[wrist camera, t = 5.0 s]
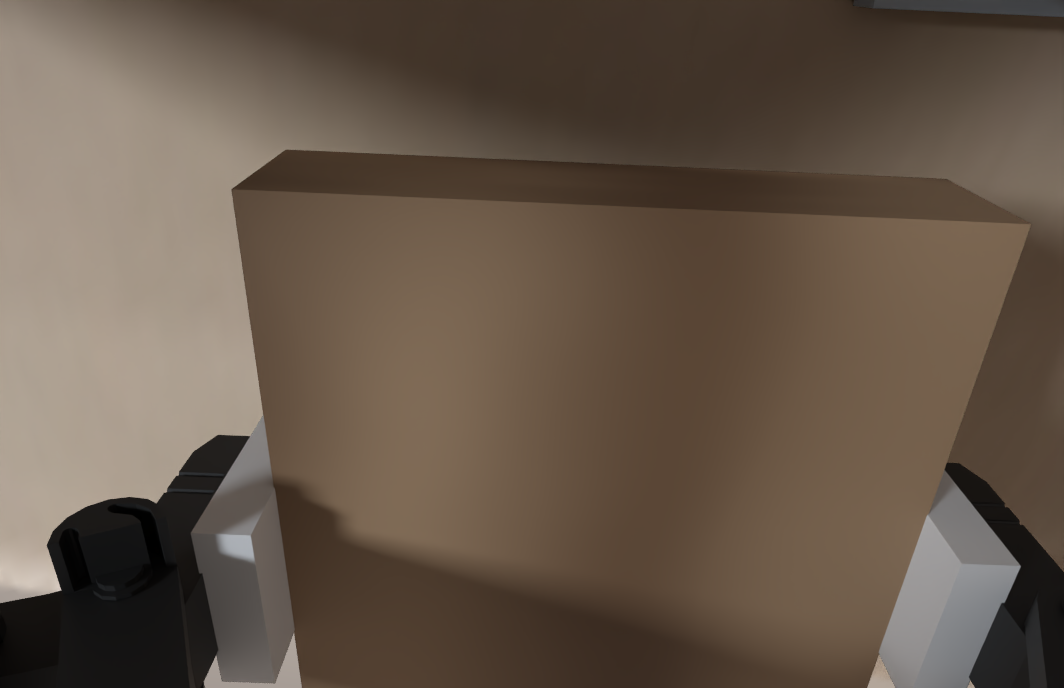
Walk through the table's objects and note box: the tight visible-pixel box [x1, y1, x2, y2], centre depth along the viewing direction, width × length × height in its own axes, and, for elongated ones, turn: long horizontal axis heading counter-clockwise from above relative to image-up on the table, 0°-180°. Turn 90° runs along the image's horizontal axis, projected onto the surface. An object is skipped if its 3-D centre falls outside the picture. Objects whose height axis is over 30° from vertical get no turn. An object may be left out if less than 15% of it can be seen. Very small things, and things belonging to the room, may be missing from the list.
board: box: [232, 150, 1031, 688], centre depth 12 cm, size 9×11×2 cm
